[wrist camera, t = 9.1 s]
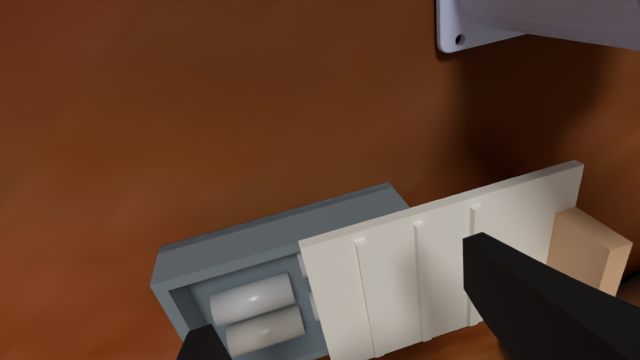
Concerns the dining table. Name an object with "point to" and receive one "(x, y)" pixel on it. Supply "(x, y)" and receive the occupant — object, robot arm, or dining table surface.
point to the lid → (449, 259)
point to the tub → (259, 277)
